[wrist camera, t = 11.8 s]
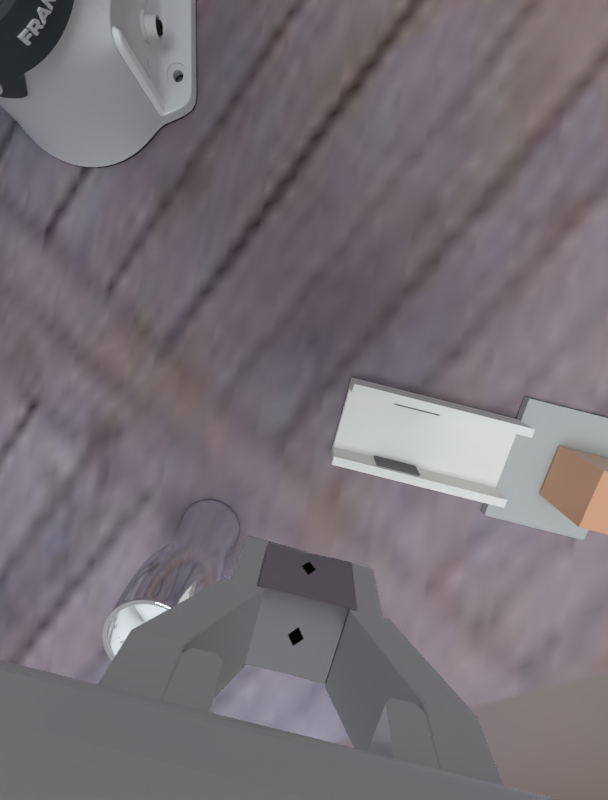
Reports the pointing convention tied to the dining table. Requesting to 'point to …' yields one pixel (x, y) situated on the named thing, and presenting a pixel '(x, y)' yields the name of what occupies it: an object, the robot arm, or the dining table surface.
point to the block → (579, 488)
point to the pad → (545, 463)
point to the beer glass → (174, 570)
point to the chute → (424, 441)
